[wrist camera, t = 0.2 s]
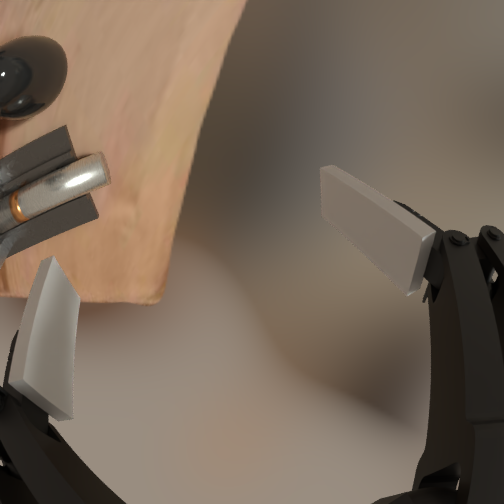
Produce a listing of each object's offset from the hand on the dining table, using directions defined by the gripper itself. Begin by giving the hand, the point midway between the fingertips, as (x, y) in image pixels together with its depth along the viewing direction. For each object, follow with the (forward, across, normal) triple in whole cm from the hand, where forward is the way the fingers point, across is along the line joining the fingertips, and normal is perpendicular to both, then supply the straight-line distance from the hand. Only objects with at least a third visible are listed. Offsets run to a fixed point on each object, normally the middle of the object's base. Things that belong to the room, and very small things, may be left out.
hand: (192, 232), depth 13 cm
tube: (+27, -17, -2) cm, 32 cm away
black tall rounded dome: (+28, -14, +13) cm, 34 cm away
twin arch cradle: (+28, -25, -2) cm, 37 cm away
